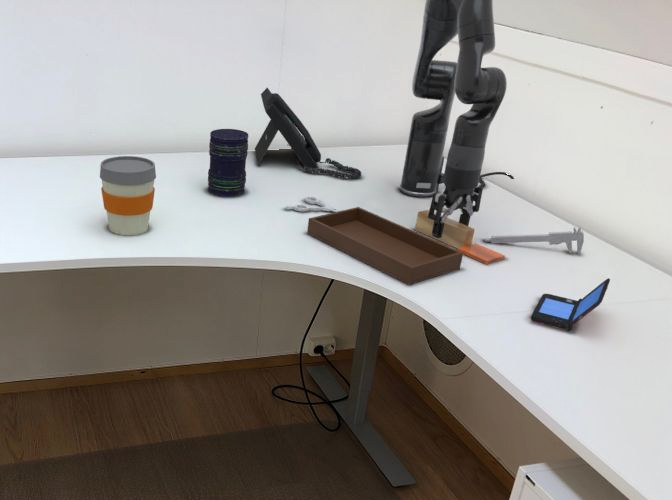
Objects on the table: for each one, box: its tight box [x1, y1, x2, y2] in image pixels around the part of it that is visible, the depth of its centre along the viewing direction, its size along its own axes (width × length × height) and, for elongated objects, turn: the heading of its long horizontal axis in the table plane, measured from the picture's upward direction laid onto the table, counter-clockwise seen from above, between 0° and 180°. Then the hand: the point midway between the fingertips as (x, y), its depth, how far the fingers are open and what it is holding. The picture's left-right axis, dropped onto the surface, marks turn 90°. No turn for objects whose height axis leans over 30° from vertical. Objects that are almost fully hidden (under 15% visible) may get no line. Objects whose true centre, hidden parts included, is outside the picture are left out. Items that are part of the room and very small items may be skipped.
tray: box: [306, 206, 464, 286], centre depth 175 cm, size 16×32×4 cm, turn 34°
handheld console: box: [530, 277, 611, 332], centre depth 149 cm, size 12×11×7 cm
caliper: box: [484, 226, 585, 255], centre depth 179 cm, size 20×1×6 cm, turn 73°
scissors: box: [285, 196, 344, 213], centre depth 196 cm, size 11×1×20 cm
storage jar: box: [207, 128, 249, 198], centre depth 203 cm, size 10×10×15 cm
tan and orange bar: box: [414, 209, 506, 265], centre depth 179 cm, size 6×22×4 cm, turn 34°
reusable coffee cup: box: [99, 155, 157, 236], centre depth 179 cm, size 13×13×15 cm
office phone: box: [254, 87, 362, 180], centre depth 225 cm, size 29×28×20 cm
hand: (449, 233), depth 181 cm, fingers open, 8 cm apart
